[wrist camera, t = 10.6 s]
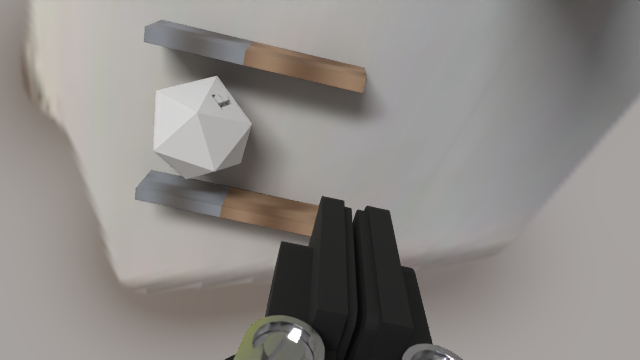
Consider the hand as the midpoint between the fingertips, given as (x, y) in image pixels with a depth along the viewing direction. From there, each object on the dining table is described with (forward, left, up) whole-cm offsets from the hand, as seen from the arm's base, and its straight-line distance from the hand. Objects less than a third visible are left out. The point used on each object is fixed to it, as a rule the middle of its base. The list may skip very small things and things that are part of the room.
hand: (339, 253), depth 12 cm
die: (+10, +10, -32) cm, 35 cm away
